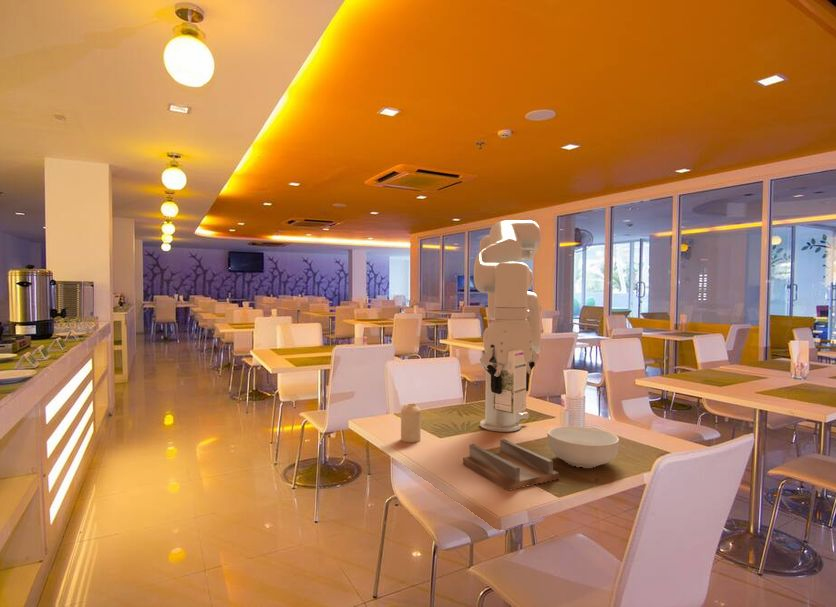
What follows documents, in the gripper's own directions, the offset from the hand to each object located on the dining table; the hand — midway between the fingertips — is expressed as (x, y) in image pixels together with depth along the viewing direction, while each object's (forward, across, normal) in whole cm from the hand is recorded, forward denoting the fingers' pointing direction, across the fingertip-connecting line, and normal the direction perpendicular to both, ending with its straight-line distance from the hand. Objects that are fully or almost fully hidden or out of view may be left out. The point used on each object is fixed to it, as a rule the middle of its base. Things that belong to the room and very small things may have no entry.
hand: (509, 390), depth 116 cm
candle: (+19, +10, -32) cm, 39 cm away
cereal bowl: (+19, -20, +3) cm, 28 cm away
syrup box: (+5, 0, 0) cm, 5 cm away
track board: (+19, 0, 0) cm, 19 cm away
